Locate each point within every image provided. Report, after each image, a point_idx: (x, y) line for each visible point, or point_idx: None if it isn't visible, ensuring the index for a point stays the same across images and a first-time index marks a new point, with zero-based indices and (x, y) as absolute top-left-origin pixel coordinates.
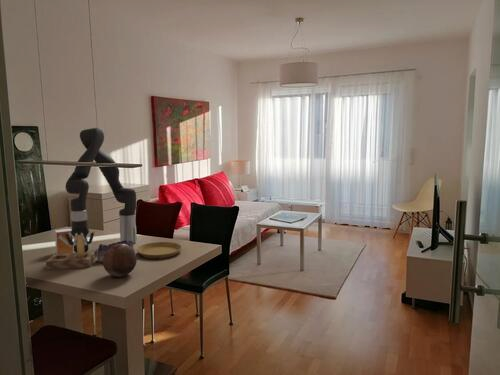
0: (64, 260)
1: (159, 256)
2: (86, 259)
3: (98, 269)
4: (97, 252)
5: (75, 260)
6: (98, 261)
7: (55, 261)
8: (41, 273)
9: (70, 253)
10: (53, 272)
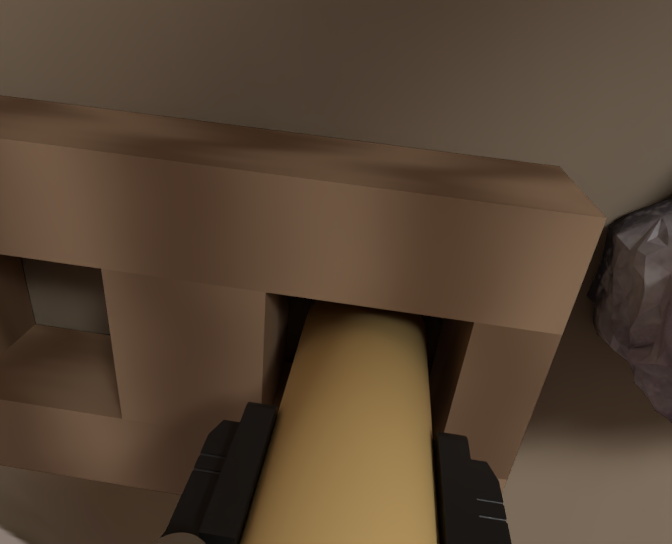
0: (150, 485)
1: None
2: None
3: (561, 537)
4: (663, 362)
5: None
6: (602, 337)
7: (42, 467)
8: None
9: (102, 158)
10: None
